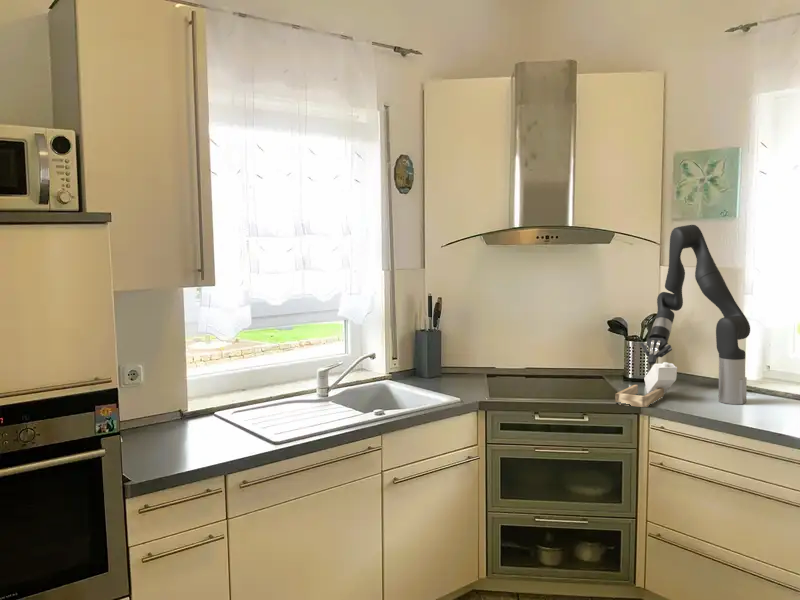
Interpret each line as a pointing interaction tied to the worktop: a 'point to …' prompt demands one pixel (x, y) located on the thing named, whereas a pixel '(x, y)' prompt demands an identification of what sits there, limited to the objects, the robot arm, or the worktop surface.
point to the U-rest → (636, 400)
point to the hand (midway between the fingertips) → (651, 363)
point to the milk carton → (660, 377)
